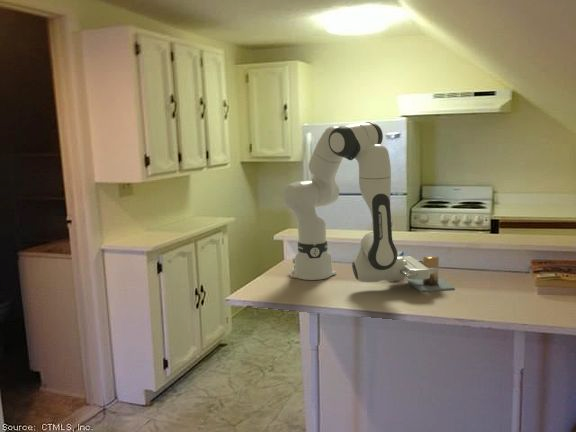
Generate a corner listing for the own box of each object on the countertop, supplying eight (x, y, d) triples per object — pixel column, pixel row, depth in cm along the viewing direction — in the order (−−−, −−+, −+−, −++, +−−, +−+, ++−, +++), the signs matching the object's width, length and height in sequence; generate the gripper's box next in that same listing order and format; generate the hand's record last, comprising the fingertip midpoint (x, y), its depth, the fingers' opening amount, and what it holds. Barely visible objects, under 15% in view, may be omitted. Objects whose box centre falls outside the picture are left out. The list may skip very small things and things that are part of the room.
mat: (407, 281, 200) (407, 280, 200) (440, 279, 201) (440, 277, 201) (419, 291, 187) (419, 290, 187) (454, 289, 188) (454, 287, 188)
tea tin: (420, 282, 196) (421, 256, 195) (434, 281, 197) (435, 255, 195) (425, 286, 191) (426, 259, 189) (440, 285, 191) (441, 258, 190)
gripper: (405, 267, 181) (444, 265, 182) (388, 253, 201) (423, 251, 202) (405, 285, 182) (444, 282, 183) (388, 269, 202) (423, 267, 203)
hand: (433, 266), depth 193 cm, fingers open, 8 cm apart
